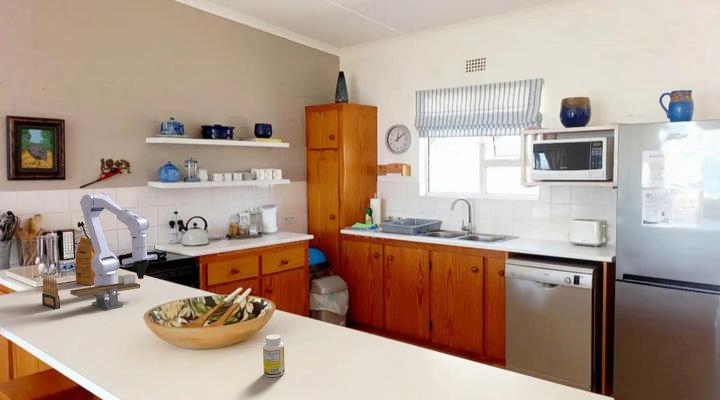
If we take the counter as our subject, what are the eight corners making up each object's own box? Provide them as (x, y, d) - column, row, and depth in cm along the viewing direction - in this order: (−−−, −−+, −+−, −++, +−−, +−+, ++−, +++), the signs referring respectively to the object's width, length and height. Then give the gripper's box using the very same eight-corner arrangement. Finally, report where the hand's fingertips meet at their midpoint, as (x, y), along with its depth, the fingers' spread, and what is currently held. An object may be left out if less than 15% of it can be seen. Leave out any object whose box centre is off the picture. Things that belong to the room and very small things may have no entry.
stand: (91, 304, 210) (90, 286, 210) (106, 301, 215) (105, 283, 214) (107, 310, 202) (106, 291, 202) (122, 306, 207) (121, 288, 206)
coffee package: (90, 279, 256) (88, 235, 255) (108, 281, 251) (106, 236, 250) (71, 284, 247) (69, 238, 246) (89, 286, 242) (87, 239, 241)
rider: (118, 285, 214) (118, 275, 214) (129, 283, 219) (129, 274, 219) (124, 286, 212) (124, 277, 212) (135, 285, 216) (135, 275, 216)
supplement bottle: (275, 368, 144) (274, 331, 143) (289, 373, 140) (288, 336, 140) (259, 374, 140) (258, 337, 139) (273, 380, 136) (272, 341, 135)
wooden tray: (69, 296, 201) (69, 290, 201) (129, 287, 220) (129, 281, 220) (80, 299, 196) (80, 293, 196) (140, 290, 215) (140, 284, 215)
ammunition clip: (42, 305, 210) (40, 276, 209) (47, 304, 212) (45, 275, 211) (55, 309, 204) (53, 279, 203) (60, 308, 206) (58, 278, 205)
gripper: (127, 250, 210) (129, 283, 211) (160, 245, 222) (161, 276, 223) (118, 248, 215) (120, 280, 216) (151, 243, 226) (152, 274, 227)
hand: (140, 278), depth 219 cm, fingers closed
